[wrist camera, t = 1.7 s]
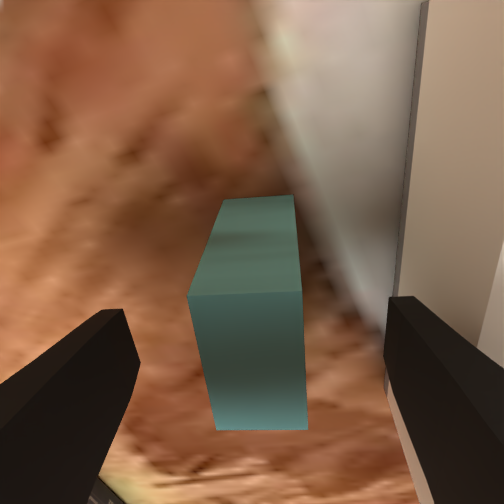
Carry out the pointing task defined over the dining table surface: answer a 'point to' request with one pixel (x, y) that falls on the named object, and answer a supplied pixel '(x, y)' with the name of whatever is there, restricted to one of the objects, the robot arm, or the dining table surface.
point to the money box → (455, 184)
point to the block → (252, 316)
